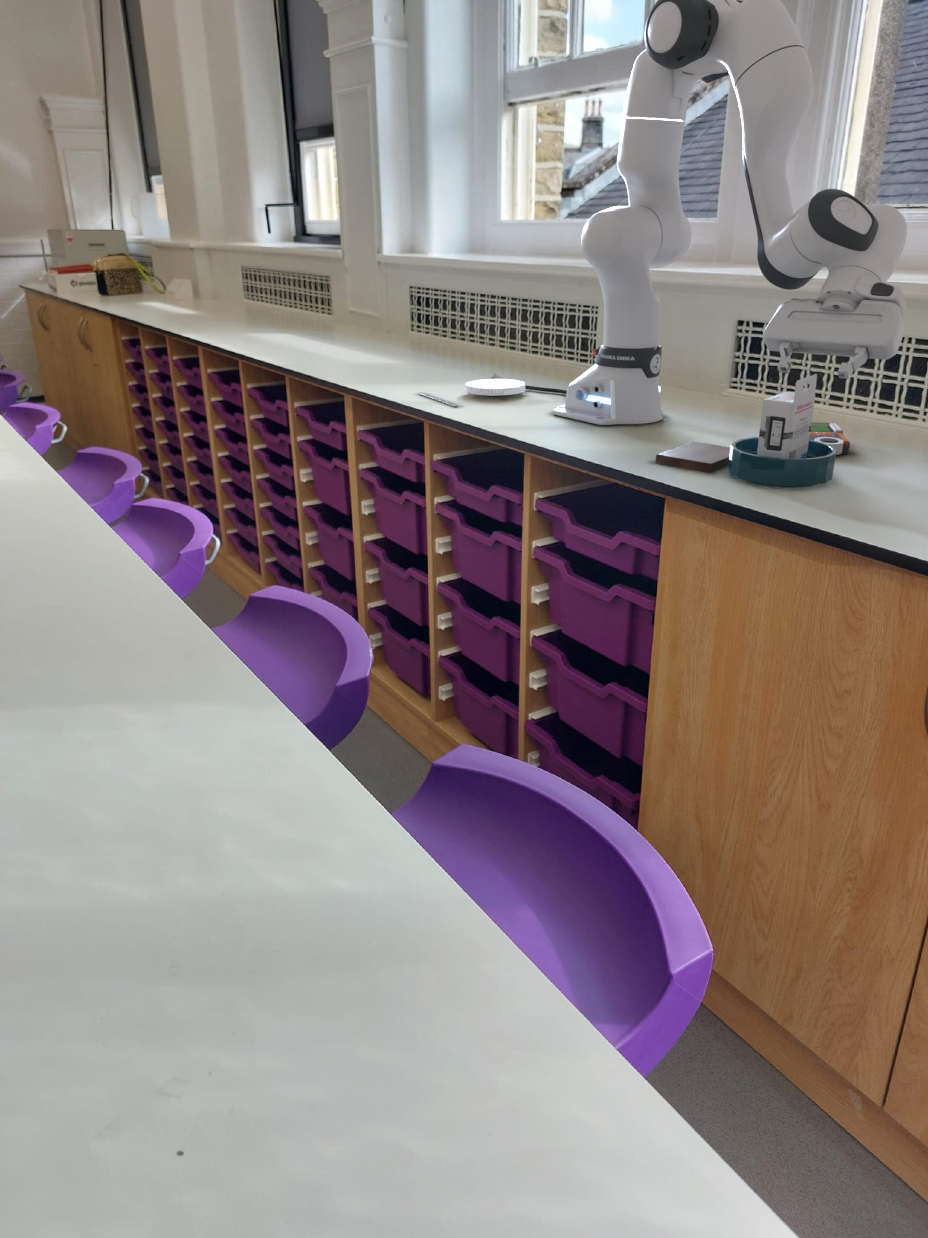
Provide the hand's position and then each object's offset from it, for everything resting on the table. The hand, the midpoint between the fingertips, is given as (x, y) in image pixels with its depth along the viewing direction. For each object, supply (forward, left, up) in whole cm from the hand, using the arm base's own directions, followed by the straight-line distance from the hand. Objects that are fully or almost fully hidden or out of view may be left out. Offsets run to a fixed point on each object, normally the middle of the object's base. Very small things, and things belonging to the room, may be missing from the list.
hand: (812, 373), depth 134 cm
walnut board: (-14, -6, -15) cm, 21 cm away
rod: (-88, +7, -15) cm, 89 cm away
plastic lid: (-82, +20, -15) cm, 86 cm away
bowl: (0, -7, -15) cm, 16 cm away
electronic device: (-3, +16, -15) cm, 22 cm away
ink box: (0, -7, -14) cm, 16 cm away
